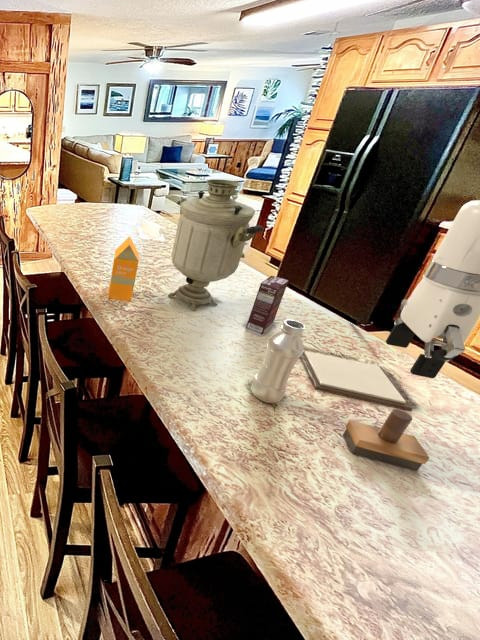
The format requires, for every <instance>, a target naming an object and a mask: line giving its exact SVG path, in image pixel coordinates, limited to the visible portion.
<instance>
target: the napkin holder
mask: <svg viewBox="0 0 480 640" xmlns="http://www.w3.org/2000/svg"><path fill="white" fill-rule="evenodd" d="M142 223H143V224H142V228H138V229H137V230H138V233H139V236H140V237H139V238H140V239H143V240H154V241H166V239H165V237H164V235H163V232H164V226H162V225H159V224H158V223H156V222H153V221H150V220H143V222H142Z"/></svg>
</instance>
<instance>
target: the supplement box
mask: <svg viewBox="0 0 480 640" xmlns="http://www.w3.org/2000/svg"><path fill="white" fill-rule="evenodd" d="M288 285H289V280H288V279H285V278H282V277H279V276H275V275H270V276H268V277H267V278H266V279H264V280H263V281H262V282H260V285H259V288H258V290H257V293H256V297H255V299H254V302H253V305H252V308H251V311H250V314H249V316H248V319H247V321H246V322H247V323H246V326H245V329H244V331H246V332H249V333H251V334H253V335H256V336H258V337H263V336H265V334H266V333H267V332H268V331H269V330H270V329H271V328H272V327H273V325H274V322H275V320H276V316H277V314H278V311H279V308H280V305H281V302H282V300H283V297H284V295H285V292H286V290H287V287H288Z"/></svg>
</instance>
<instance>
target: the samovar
mask: <svg viewBox="0 0 480 640" xmlns="http://www.w3.org/2000/svg"><path fill="white" fill-rule="evenodd" d="M205 183H207V185H208V189H207V193H208V195H207V196H204V195H205V194H206V192H205V191H202V190H200V191H198V192H197V194H198V197H197V198H191V199H187V198H185V199H183V200H178V201H177V202H176V205H178V206H179V207H180V209H179V218H178V221H177V222H178V223H177V227H176V233H175V236H174V241H173V245H172V251H171V262H172V264H173V266H174V268H175V269H176V270H177V271H178V272H180V274H182V275H183V276H184V277H185V282H186V284H182V285H180V286H178V288H177V289H176V290H175V291H173V292H170V293H168V294H167V297H168V298H172V297H177V298H179V299H181V300H182V301H184V302H187V303H188V304H189V305H190V307H189V308H188V309H189V310H190V311H191V312H197V307H198V306H199V305H205V304H209V303H211V304H213V305H214V306H215V307H217V306H218V303H217V301H215V300H214V299H213V297H212V294H211V292H209V291H208V289H207V287H208V286H209V285H210V283H213V282H219V281H221V280H224V279H227V278H229V277H230V276H232V275H233V274H234V273H236V271H237V269H238V267H239V265H240V261H241V258H242V259H244V258H246V256H245V253H244V252H243V251H244V248H245V246H248V245H249V243H248V241H250V240H252V239H253V238H254V237H255V234H256V233H261V232H263V231H264V227H263V226H262V225H259V224H257V225H254V226H253V225H252V226H250V222H251V220H252V219H253V218H254V216H255V215H256V210H255V209H254V208H253V207H251V206H249V205H247V204H245V203H242V202H239V201H236V200H234V199H232V198H231V197H232V196H233V195H235V191H236V188H237V187H239V186H240V185H241V183H240V182H238V181H235V180H230V179H220V178H219V179H217V178H216V179H215V178H214V179H213V178H212V179H206V181H205Z"/></svg>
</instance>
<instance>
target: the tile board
mask: <svg viewBox="0 0 480 640" xmlns="http://www.w3.org/2000/svg"><path fill="white" fill-rule="evenodd" d="M299 359H300V361H301V362H302V365H303V366H304V369H305V370H306V373H307V375H308V377H309V379H310V380H311V383H312V385H313V387H314V389H315V390H317V391H322V392H327V393H331V394H336V395H338V396H339V395H340V396H344V397H347V398H348V397H349V398H353V399H357V400H361V401H366V402H370V403H373V404H379V405H383V406H388V407H392V408H395V409H399V410H406V411H410V412H412V411H413V409H414V408H413V406H411V403H409V401H408V400H407V398H406V397H405V396H404V395H403V393H402V392H401V391H400V389H399V387H397V386H396V384H395V383H394V382H393V380H392V379H391V377H390V376H389V375H388V374H387V372H386V371H385V370H384V368H383V367H382V366H381V365H376V364H372V363H367V362H362V361H356V360H352V359H347V358H342V357H337V356H332V355H327V354H322V353H318V352H313V351H307V350H304V352H303V353H302V355H301V356H300V358H299Z"/></svg>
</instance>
